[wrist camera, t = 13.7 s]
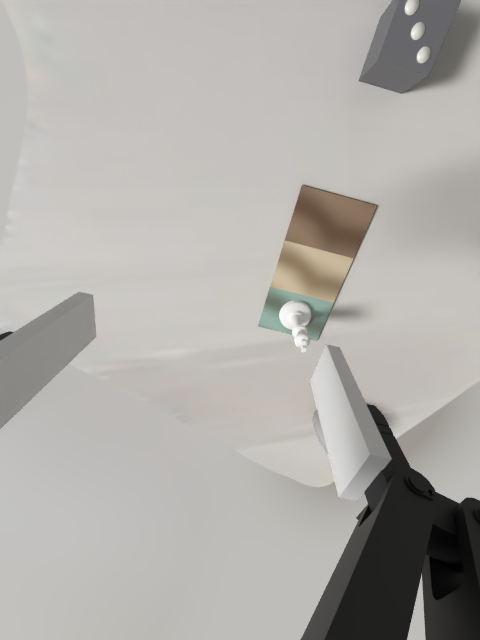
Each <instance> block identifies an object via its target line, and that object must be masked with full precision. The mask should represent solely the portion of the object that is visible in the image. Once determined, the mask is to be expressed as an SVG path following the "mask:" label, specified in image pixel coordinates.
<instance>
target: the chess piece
mask: <svg viewBox="0 0 480 640" xmlns="http://www.w3.org/2000/svg"><path fill="white" fill-rule="evenodd" d="M279 318H280V321H281V323H282V324H283V326H285V327H286V328H288V329H291V330H292V335H293V336H294V337H295V340H294V342H295V344H296V345H297V346H298V347H301V351H302V352H305V351H306V350H307V347H306V346H308V345H309V343H310V338H309V336H308V335H307V333H308V330H307V328H306V327H305V326H306V325H307V324H308V323H309V321H310V319H311V310H310V308H309V306H308V305H307V304H306V303H304V302H302V301H298V300H294V301H290V302H287V303H286V304H284V305H283V306H282V308H281V310H280V312H279Z"/></svg>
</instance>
